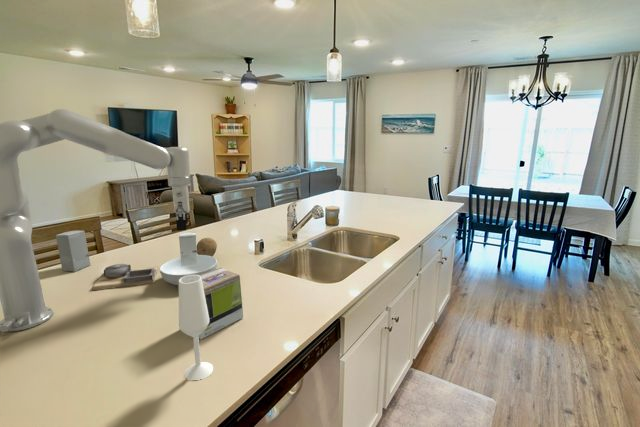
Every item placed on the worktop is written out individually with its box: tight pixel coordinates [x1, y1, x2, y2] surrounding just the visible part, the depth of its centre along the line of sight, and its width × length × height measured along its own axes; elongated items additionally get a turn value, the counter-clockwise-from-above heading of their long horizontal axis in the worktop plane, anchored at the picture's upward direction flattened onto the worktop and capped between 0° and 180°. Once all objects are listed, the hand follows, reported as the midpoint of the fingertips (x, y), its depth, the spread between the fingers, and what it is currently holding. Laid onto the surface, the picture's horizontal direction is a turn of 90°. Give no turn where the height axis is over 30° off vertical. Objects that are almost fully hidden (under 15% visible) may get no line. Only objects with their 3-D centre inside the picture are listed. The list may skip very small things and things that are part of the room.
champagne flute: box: [178, 275, 214, 381], centre depth 78 cm, size 7×7×24 cm
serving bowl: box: [159, 254, 218, 286], centre depth 131 cm, size 21×21×7 cm
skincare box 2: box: [178, 231, 198, 266], centre depth 129 cm, size 6×4×12 cm
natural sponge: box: [196, 237, 218, 257], centre depth 153 cm, size 9×9×10 cm
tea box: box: [177, 267, 244, 340], centre depth 100 cm, size 15×10×15 cm
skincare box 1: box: [55, 230, 91, 273], centre depth 142 cm, size 8×7×16 cm
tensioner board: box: [92, 263, 158, 291], centre depth 132 cm, size 14×20×5 cm
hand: (182, 226), depth 126 cm, fingers open, 9 cm apart
